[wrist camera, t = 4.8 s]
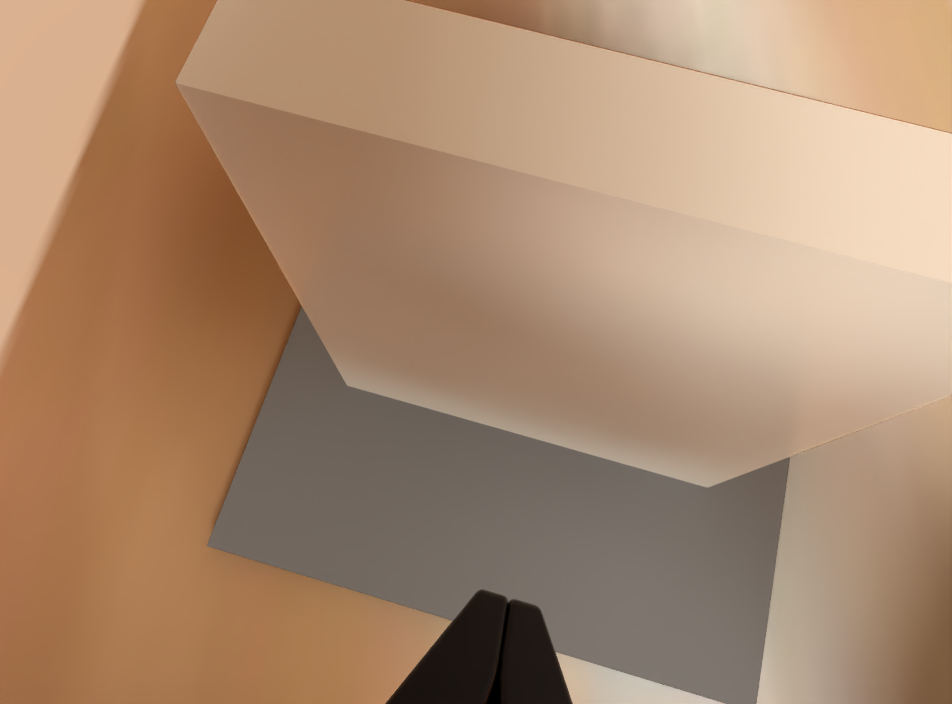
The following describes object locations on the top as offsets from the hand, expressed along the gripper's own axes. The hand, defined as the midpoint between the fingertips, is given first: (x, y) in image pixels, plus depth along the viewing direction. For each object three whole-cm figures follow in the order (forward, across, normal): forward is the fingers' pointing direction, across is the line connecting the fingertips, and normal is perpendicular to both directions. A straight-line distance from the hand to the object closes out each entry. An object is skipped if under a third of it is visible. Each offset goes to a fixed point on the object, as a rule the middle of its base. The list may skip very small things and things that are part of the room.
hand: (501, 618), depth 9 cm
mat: (+12, 0, 0) cm, 12 cm away
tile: (+10, 0, +2) cm, 10 cm away
